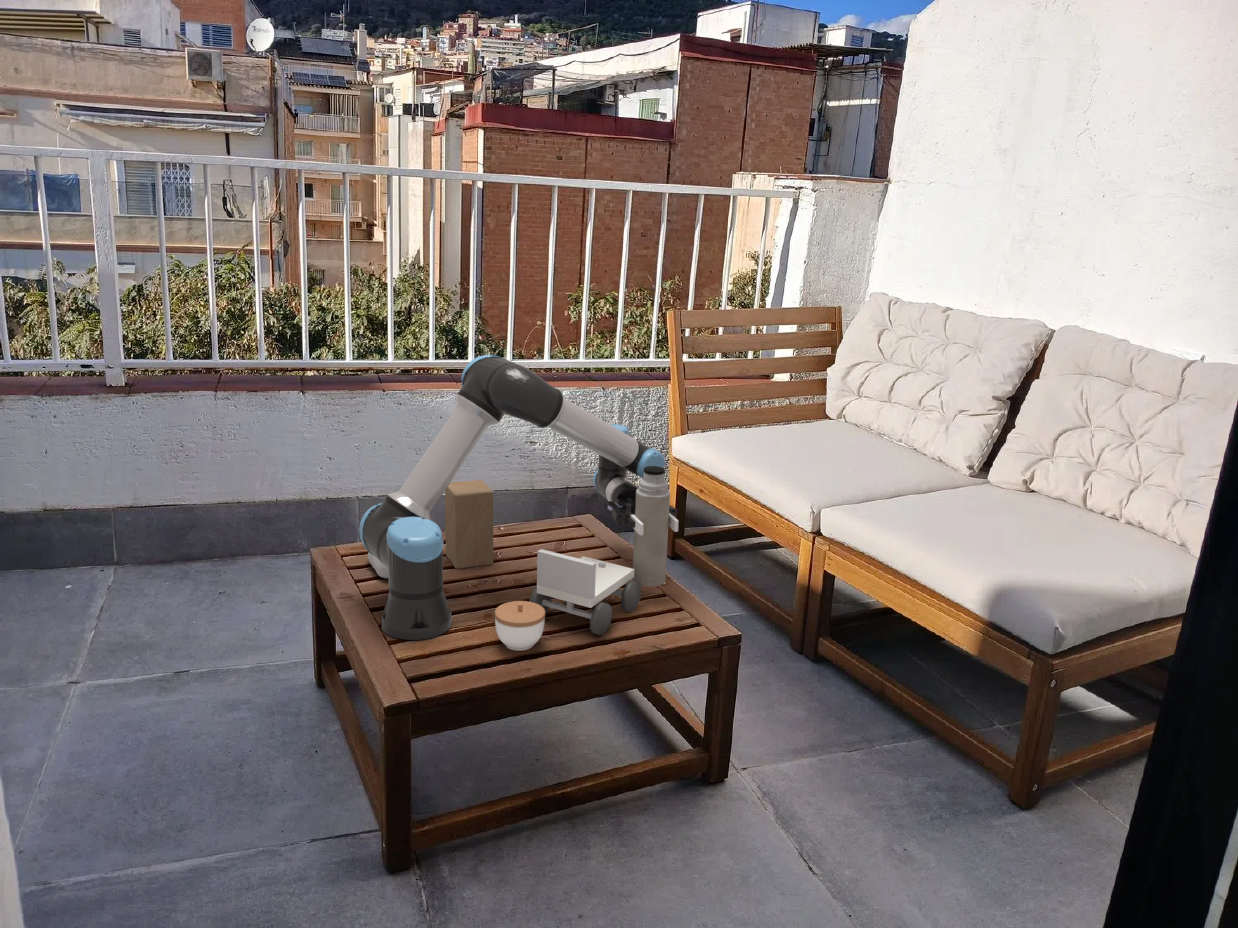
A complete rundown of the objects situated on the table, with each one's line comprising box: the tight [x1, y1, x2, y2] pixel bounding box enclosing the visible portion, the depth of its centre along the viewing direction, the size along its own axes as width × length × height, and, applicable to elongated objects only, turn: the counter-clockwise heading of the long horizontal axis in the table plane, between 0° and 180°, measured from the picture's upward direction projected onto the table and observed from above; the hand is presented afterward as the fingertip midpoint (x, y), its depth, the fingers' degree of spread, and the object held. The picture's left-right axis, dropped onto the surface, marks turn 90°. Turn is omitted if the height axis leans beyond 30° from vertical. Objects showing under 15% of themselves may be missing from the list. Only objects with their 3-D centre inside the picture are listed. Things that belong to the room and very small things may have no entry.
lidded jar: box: [494, 600, 546, 652], centre depth 208 cm, size 11×11×9 cm
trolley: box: [528, 548, 642, 636], centre depth 223 cm, size 21×18×17 cm
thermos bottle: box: [631, 466, 671, 587], centre depth 230 cm, size 8×8×28 cm
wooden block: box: [444, 479, 494, 570], centre depth 250 cm, size 10×10×20 cm
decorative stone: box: [367, 551, 389, 579], centre depth 244 cm, size 17×10×10 cm
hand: (659, 528), depth 225 cm, fingers closed on thermos bottle, 8 cm apart
